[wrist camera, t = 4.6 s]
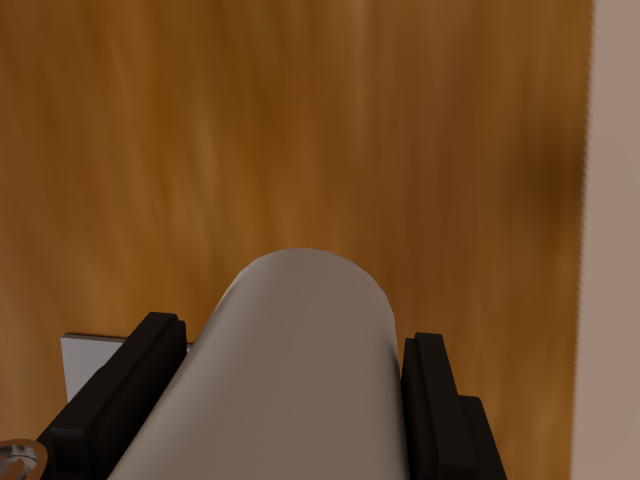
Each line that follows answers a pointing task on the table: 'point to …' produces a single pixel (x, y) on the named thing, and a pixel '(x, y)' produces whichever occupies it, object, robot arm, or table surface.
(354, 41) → the table surface
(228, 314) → the beverage can
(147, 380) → the robot arm
